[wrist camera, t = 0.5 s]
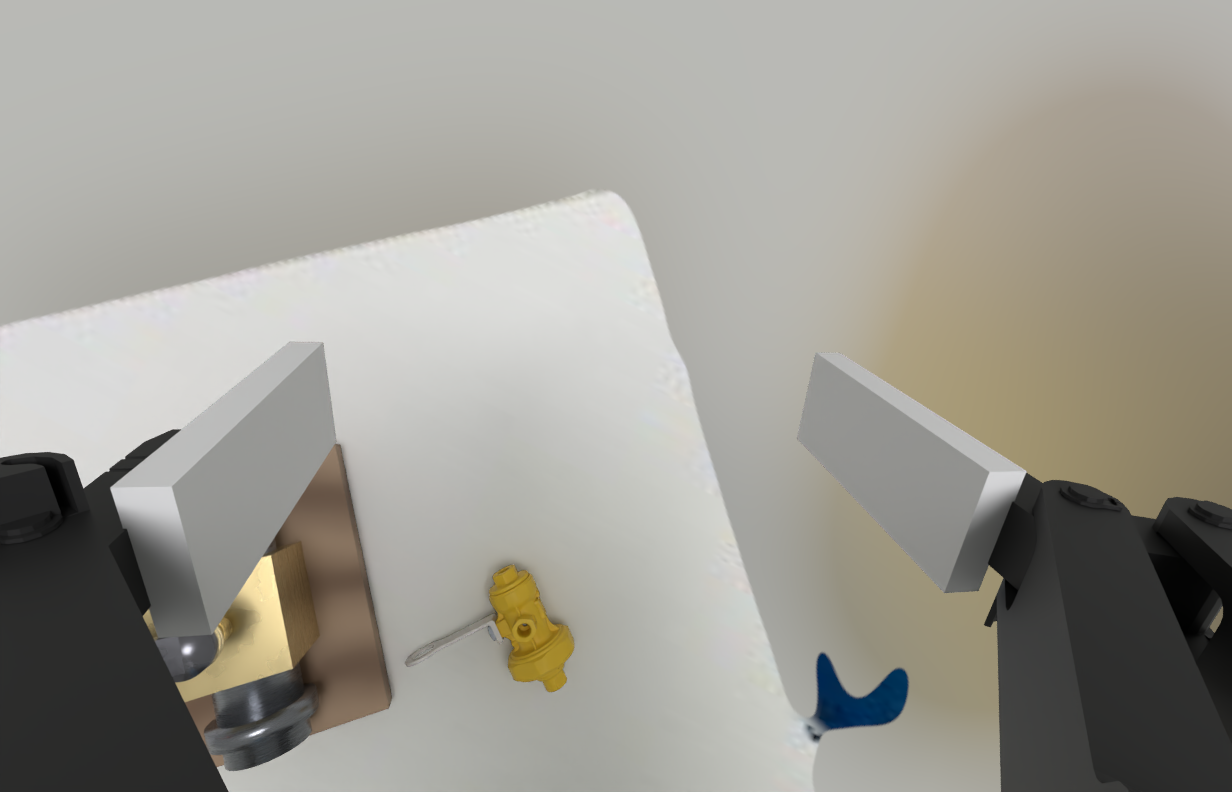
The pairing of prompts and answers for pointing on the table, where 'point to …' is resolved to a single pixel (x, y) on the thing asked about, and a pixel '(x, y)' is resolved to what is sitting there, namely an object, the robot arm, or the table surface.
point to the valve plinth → (331, 607)
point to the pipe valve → (261, 664)
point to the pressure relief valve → (519, 631)
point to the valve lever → (190, 653)
